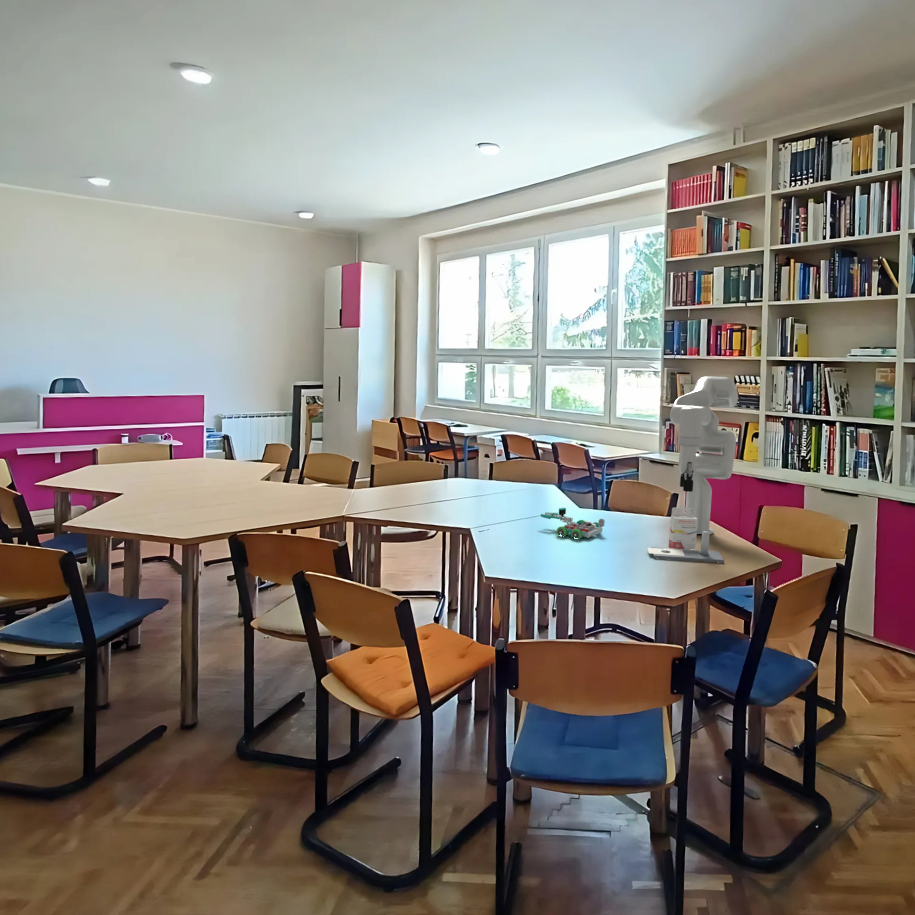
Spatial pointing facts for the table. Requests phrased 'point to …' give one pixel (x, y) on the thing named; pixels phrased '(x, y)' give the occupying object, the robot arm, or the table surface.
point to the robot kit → (575, 525)
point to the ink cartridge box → (683, 529)
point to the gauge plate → (688, 552)
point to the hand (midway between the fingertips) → (686, 489)
